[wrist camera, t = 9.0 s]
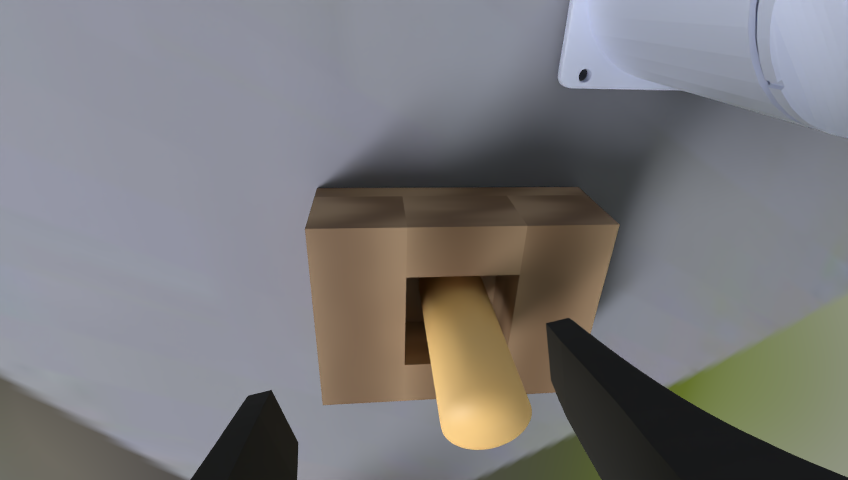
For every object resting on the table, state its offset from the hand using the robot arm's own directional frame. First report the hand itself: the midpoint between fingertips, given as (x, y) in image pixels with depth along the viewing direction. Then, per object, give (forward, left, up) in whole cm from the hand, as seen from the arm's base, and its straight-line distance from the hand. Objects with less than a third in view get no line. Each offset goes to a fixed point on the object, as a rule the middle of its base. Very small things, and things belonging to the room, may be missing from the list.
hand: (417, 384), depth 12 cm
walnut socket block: (-2, +3, -10) cm, 11 cm away
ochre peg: (-2, +3, -9) cm, 10 cm away
